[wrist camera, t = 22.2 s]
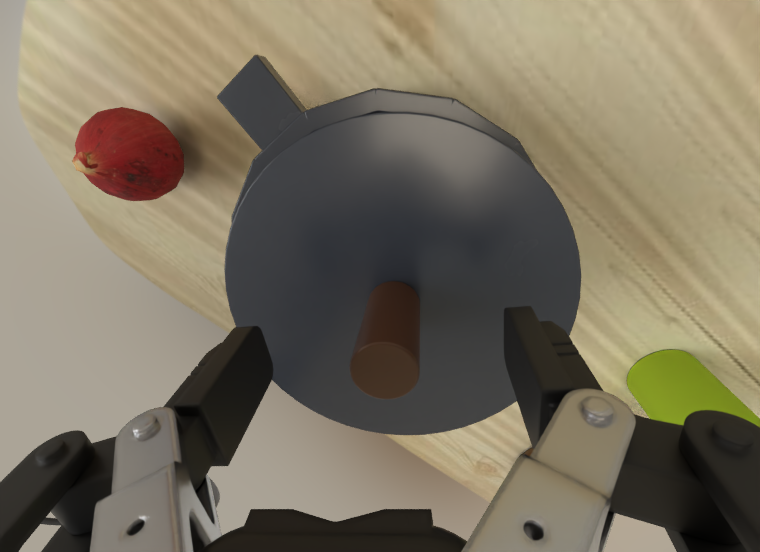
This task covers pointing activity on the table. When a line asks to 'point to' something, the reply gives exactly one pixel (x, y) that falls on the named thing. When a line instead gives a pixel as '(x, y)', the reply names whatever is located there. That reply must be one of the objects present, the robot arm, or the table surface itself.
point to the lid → (398, 269)
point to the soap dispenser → (681, 388)
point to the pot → (324, 113)
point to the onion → (129, 154)
